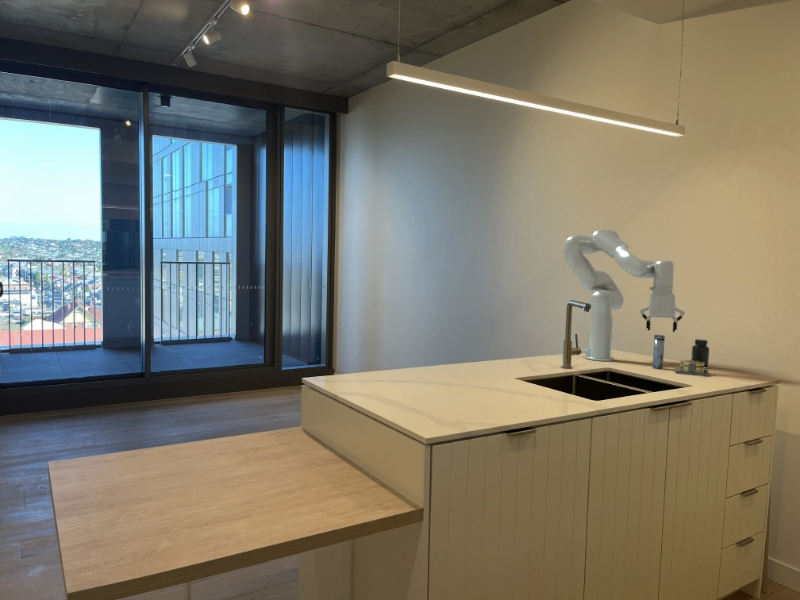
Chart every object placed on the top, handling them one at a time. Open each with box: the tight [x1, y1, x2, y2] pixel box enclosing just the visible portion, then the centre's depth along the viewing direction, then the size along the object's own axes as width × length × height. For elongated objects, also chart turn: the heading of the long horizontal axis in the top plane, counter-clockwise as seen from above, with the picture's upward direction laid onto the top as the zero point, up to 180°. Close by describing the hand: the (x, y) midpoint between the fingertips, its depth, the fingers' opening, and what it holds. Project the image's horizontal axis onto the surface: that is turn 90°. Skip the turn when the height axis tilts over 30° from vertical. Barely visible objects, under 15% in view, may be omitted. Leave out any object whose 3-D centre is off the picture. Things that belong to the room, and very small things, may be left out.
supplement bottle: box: [690, 338, 710, 367], centre depth 266 cm, size 7×7×12 cm
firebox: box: [674, 359, 709, 377], centre depth 249 cm, size 12×12×4 cm
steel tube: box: [651, 334, 666, 370], centre depth 258 cm, size 4×4×14 cm
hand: (661, 331), depth 257 cm, fingers open, 9 cm apart
